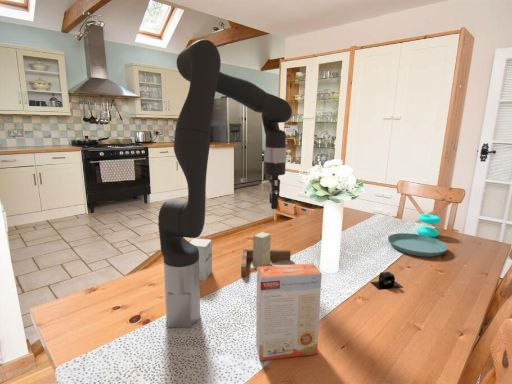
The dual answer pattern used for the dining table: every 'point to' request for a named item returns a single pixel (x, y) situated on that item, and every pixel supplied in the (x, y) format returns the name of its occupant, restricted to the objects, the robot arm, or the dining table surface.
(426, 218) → the donuts
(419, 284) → the dining table surface
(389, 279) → the black tapered holder
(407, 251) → the saucer
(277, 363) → the dining table surface
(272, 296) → the cracker box
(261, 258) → the skincare box
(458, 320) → the dining table surface
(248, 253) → the wooden corner frame
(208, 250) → the supplement box
